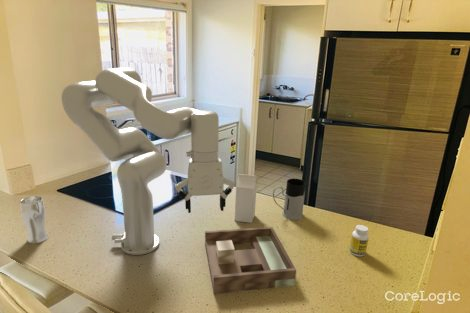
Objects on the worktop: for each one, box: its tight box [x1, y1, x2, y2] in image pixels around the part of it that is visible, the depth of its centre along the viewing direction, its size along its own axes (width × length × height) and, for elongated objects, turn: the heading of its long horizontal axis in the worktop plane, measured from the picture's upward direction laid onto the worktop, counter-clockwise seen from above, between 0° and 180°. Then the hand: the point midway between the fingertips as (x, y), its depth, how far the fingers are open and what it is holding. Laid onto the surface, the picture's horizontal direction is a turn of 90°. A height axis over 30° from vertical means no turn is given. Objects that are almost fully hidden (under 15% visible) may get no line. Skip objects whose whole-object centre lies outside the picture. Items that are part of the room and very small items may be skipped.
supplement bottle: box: [348, 224, 370, 257], centre depth 112 cm, size 5×5×10 cm
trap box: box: [204, 226, 297, 295], centre depth 104 cm, size 24×24×6 cm
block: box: [216, 240, 235, 264], centre depth 102 cm, size 5×5×5 cm
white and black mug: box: [272, 178, 307, 221], centre depth 134 cm, size 9×14×15 cm, turn 107°
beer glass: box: [19, 195, 49, 245], centre depth 111 cm, size 7×7×15 cm
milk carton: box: [234, 173, 258, 224], centre depth 130 cm, size 7×7×19 cm
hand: (205, 209), depth 97 cm, fingers open, 9 cm apart
